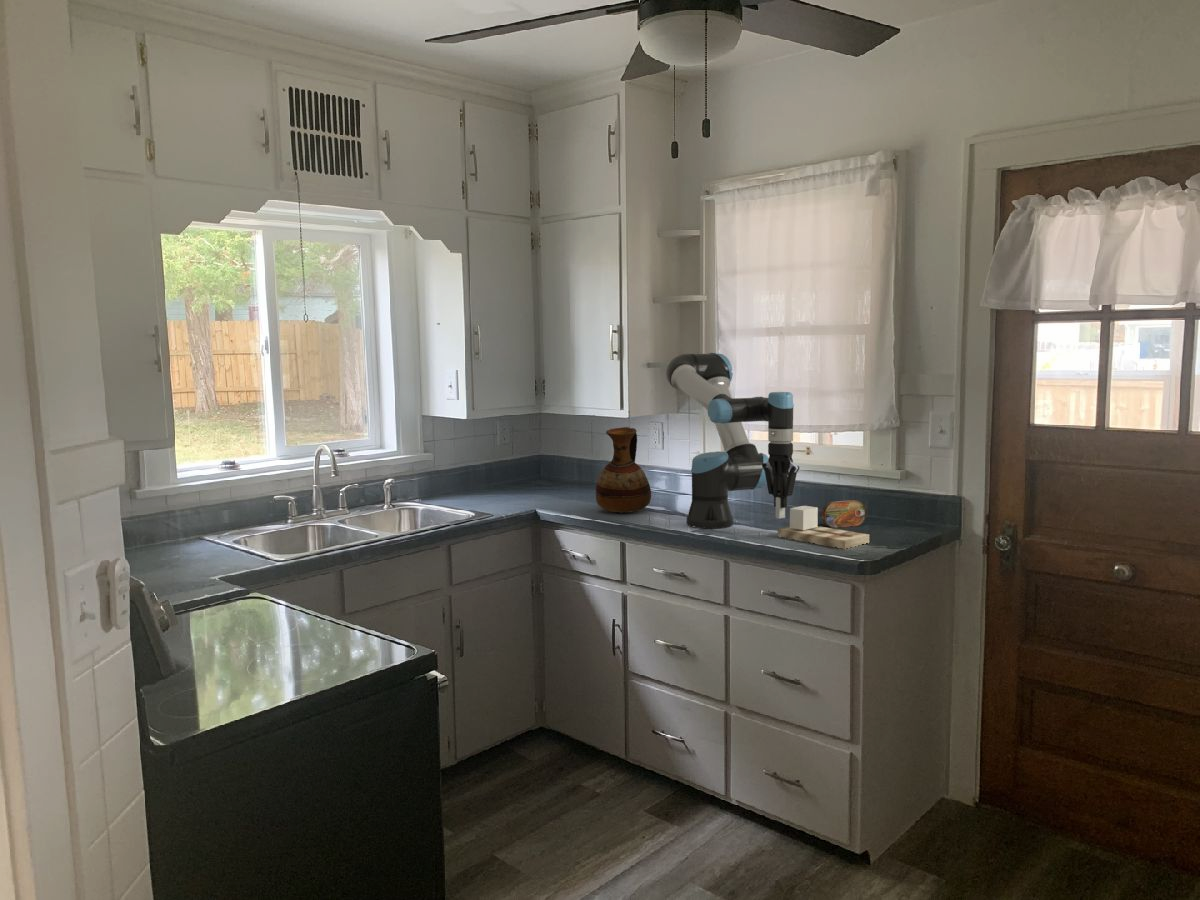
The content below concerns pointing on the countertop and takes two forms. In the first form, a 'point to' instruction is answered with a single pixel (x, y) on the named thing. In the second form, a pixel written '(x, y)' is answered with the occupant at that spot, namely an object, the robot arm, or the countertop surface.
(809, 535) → the beige flat block
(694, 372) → the robot arm
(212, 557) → the countertop surface
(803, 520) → the fader tab
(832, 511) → the tin
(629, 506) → the ceramic pitcher
